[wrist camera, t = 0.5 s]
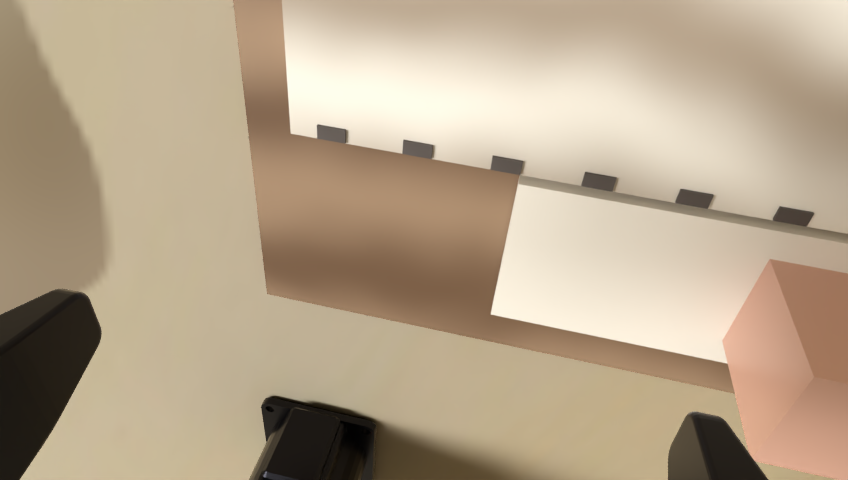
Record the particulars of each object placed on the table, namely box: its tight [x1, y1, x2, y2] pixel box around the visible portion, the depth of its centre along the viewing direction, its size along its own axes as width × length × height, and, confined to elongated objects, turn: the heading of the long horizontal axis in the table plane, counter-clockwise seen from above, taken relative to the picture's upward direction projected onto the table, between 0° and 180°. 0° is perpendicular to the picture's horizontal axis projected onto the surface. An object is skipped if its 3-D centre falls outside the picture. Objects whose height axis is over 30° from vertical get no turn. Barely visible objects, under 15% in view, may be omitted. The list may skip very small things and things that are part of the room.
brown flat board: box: [233, 0, 848, 393], centre depth 20 cm, size 18×29×2 cm, turn 86°
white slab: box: [491, 175, 848, 480], centre depth 19 cm, size 6×16×6 cm, turn 86°
